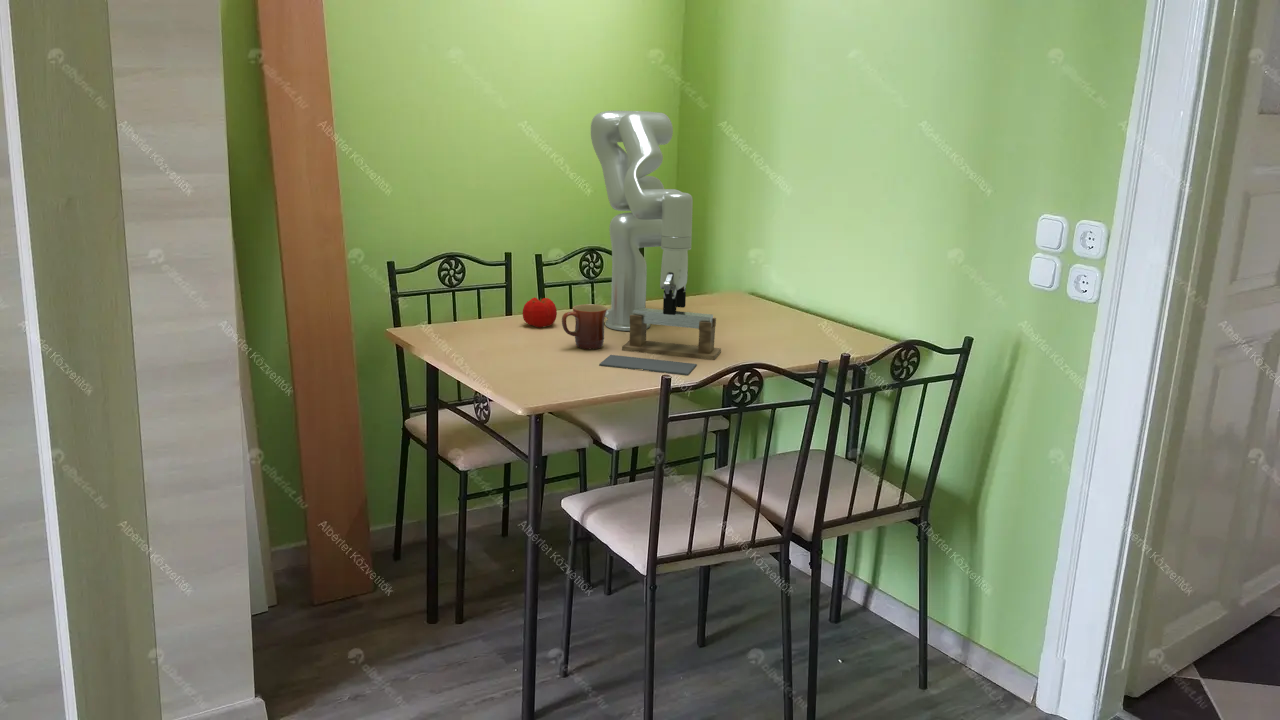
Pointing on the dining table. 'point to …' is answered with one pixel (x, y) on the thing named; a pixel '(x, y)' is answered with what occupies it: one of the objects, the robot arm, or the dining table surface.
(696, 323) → the rail
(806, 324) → the dining table surface
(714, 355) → the rack
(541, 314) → the tomato
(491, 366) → the dining table surface
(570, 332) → the mug
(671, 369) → the mat
